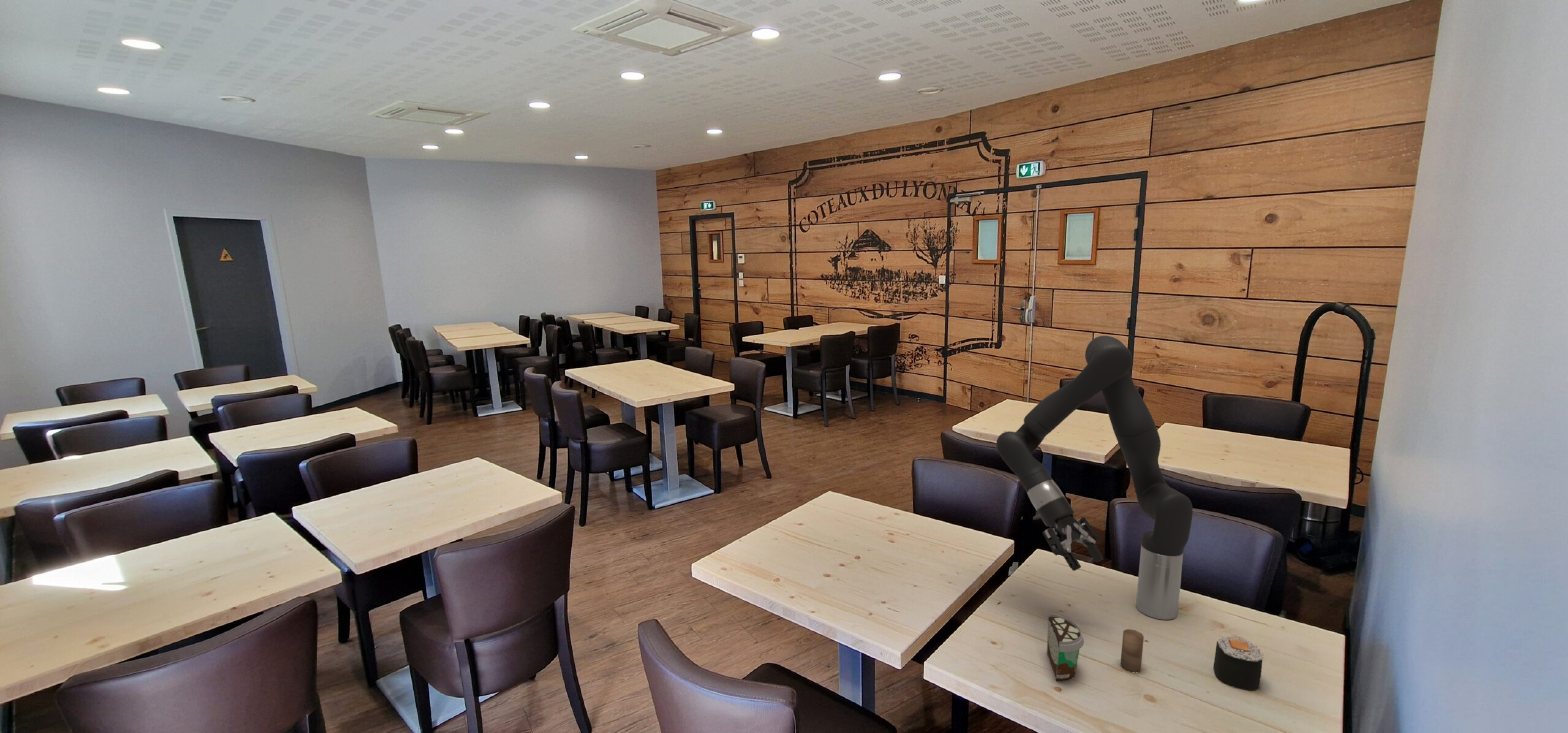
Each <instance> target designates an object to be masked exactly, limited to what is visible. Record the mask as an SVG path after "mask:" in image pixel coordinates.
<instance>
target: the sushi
mask: <svg viewBox="0 0 1568 733" xmlns="http://www.w3.org/2000/svg"><path fill="white" fill-rule="evenodd" d="M1264 657H1265V656H1264V653H1262V652H1261V648H1258V645H1256V644H1255V645H1254V644H1253V642H1252V641H1251V642H1250V640H1248V639H1245V638H1242V637H1238V638H1237V637H1236V636H1235V637H1232V636H1229V635H1228V636H1221V637H1220V639H1218V641H1217V640H1216V646H1215V653H1214V660H1213V672H1214V676H1215V678H1216V679H1217V680H1218V681H1220V682H1221V683H1222V684H1225V685H1226V686H1229V687H1233V688H1236V689H1241V690H1246V691H1256V690H1257V691H1258V689H1259V687H1260V682H1261V677H1262V670H1263V660H1264Z"/></svg>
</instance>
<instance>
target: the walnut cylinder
mask: <svg viewBox="0 0 1568 733" xmlns="http://www.w3.org/2000/svg"><path fill="white" fill-rule="evenodd" d="M1144 636H1145V635H1144V634H1143V633H1142V632H1140V631H1138V630H1135V629H1131V628H1129V629H1126V628H1125V629H1124V630H1123V632H1122V640H1121V642H1122V643H1121V653H1120V664H1121V665H1120V667H1121V668H1122V669H1123V670H1124V669H1125V671H1127V672H1128V671H1129V673H1132V672H1135V673H1134V674H1137V673H1136V672H1138V673H1140V672H1141V671H1142V670H1141V669H1142V662H1143V651H1144V638H1145V637H1144Z"/></svg>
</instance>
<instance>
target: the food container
mask: <svg viewBox="0 0 1568 733" xmlns="http://www.w3.org/2000/svg"><path fill="white" fill-rule="evenodd" d="M1046 642H1047V645H1046V655H1047V656H1046V657H1047V659H1048V662H1049V665H1050V668H1051V671H1053V672H1052V674H1053V677H1054V680H1055V682H1068V681H1070V680H1073V679H1072V678H1075V676H1076V673H1077V666H1078V659H1079V654H1080V649H1081V648H1082V647H1083V646H1084V644H1085V643H1084V642H1085V638H1084V633H1083V631H1082V630H1081V627H1080V626H1079V625H1078V624H1077V623H1076V622H1075V621H1073V620H1072V619H1070V618H1068V617H1066V616H1063V615H1060V614H1057V613H1051V612H1048V614H1047V641H1046Z"/></svg>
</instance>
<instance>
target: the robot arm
mask: <svg viewBox="0 0 1568 733" xmlns="http://www.w3.org/2000/svg"><path fill="white" fill-rule="evenodd" d="M1084 353H1085V355H1084V358H1085V362H1086V366H1085V367H1084V368H1083V369H1082V371H1081V372H1080V373H1079V374H1078V375H1076V377H1074V378H1073V379H1072V380H1071V381H1070V382H1068V383H1067V384H1066V385H1064V386H1062V387H1060V388H1058V389H1057V390H1055V391H1053V392H1052V393H1050V394H1048V395H1047V396H1045V397H1044V398H1043V399H1042V400H1040V402H1039V403H1037V404H1036V406H1034V407H1033V408H1032V409H1031V410H1030V411H1029V412H1028V413H1027V414H1026V415H1025V416H1024V418H1023V424H1021V425H1020V426H1019V428H1018V429H1017V430H1016V431H1011V430H1010V431H1004V432H1003V433H1001V434H999V436H998V437H997V440H996V450H997V452H998V454H999V455H1000V457H1001V458H1002V460H1003V462H1004V463H1005V464H1006V465H1007V467H1008V468H1009V469H1010V470H1011V471H1012V472H1013V473H1014V475H1016V477H1017V478H1018V481H1019V482H1020V484H1021V485H1022V487H1023V489H1024V490H1025V492H1026V494H1027V496H1028V498H1029V500H1030V502H1031V504H1032V505H1033V507H1034V509H1035V510H1036V512H1037V514H1038V515H1039V517H1040V519H1041V521H1042V522H1043V523H1044V525H1045V526H1046V527H1049V528H1046V529H1045V530H1044V531H1043V532H1042V535H1043V537H1044V538H1045V540H1046V542H1047V544H1048V546H1049V549H1051V552H1052V553H1053V555H1054V556H1061V557H1063V558H1064V560H1065V562H1066V563H1067V565H1068V567H1069V568H1070V569H1071V570H1072V571H1077V570H1079V569H1081V567H1082V565H1081V564H1080V563H1079V561H1078V559H1077V557H1076V556H1075V553H1073V552H1072V548H1071V547H1072V546H1071V545H1072V543H1073V542H1076V543H1079V544H1081V545H1083V546H1084V547H1086V550H1087V552H1088V553H1089V555H1090V556H1091V558H1092V560H1093V561H1094V563H1098V562H1101V561H1102V560H1104V557H1103V555H1102V552H1101V550H1100V549H1099V548H1098V546H1097V545H1096V543H1097V541H1098V540H1099V536H1098V535H1097V533H1096V532H1095V530H1094V528H1093V527H1092V525H1091V524H1090V523H1089V521H1088V520H1087V518H1086V517H1084V516H1083V517H1080V518H1079V519H1076V518H1075V517H1074V514H1075V511H1074V509H1073V507H1072V506H1071V504H1070V502H1069V501H1068V500H1067V498H1066V497H1065V495H1064V493H1063V492H1062V490H1061V489H1060V487H1059V486H1058V485H1057V483H1056V482H1055V481H1054V480H1053V478H1052V476H1051V475H1050V473H1049V472H1048V470H1047V468H1045V466H1044V465H1043V463H1041V462H1040V461H1038V459H1036V458H1035V457H1034V455H1033V453H1034V451H1036V450H1037V448H1038V447H1039V446H1040V444H1041V443H1043V441H1044V439H1045V438H1046V436H1047V435H1049V434H1050V433H1051V432H1053V431H1054V430H1055V429H1056V428H1057V427H1058V426H1059V425H1060V424H1062V422H1063V421H1064V420H1066V419H1067V418H1068V417H1069V416H1070V415H1072V413H1073V412H1075V411H1076V410H1077V409H1078V408H1080V407H1081V406H1082V405H1083V404H1085V403H1086V402H1088V400H1091V399H1092V398H1093V397H1095V396H1096V395H1098V393H1100V392H1102V395H1103V400H1104V403H1105V407H1106V411H1107V414H1108V417H1109V420H1110V425H1111V428H1112V429H1113V433H1114V436H1115V438H1116V441H1117V443H1118V447H1119V449H1120V450H1121V452H1122V456H1123V458H1124V462H1125V463H1126V465H1127V468H1128V470H1129V474H1130V476H1131V480H1132V482H1133V487H1134V492H1135V495H1136V500H1137V502H1138V505H1139V508H1140V510H1141V511H1142V512H1143V513H1144V514H1145V515H1146V516H1147V517H1149V518H1150V519H1152V520H1153V521H1154V524H1153V526H1154V527H1153V530H1149V531H1146V532H1144V533H1143V534H1142V537H1141V543H1140V544H1141V546H1140V555H1139V557H1140V558H1139V568H1138V578H1137V590H1136V599H1135V600H1136V602H1135V607H1136V608H1137V610H1138V611H1139V612H1140V613H1142V614H1144V615H1145V616H1148V617H1150V618H1153V619H1156V620H1157V619H1158V620H1165V621H1166V620H1167V621H1168V620H1174V619H1176V618H1177V616H1178V611H1179V603H1180V602H1179V601H1180V593H1181V584H1182V571H1183V570H1182V569H1183V558H1184V550H1185V547H1186V545H1187V544H1188V542H1189V538H1190V533H1191V527H1192V520H1193V513H1194V512H1193V509H1194V508H1193V504H1192V501H1191V499H1190V498H1189V497H1188V496H1186V495H1185V494H1183V493H1181V492H1179V491H1177V490H1176V489H1174V488H1173V487H1171V486H1169V484H1168V483H1167V482H1166V480H1165V478H1164V476H1163V473H1162V471H1161V468H1160V464H1159V456H1160V452H1161V447H1162V445H1161V437H1160V434H1159V431H1158V428H1157V426H1156V423H1155V420H1154V418H1153V416H1152V414H1151V412H1150V410H1149V408H1148V406H1147V404H1146V402H1145V401H1144V399H1143V398H1142V396H1141V394H1140V393H1139V390H1138V389H1137V388H1136V385H1135V384H1134V381H1133V379H1132V376H1131V372H1130V370H1131V369H1132V366H1133V361H1134V360H1133V359H1134V358H1133V355H1132V352H1131V351H1130V349H1129V348H1128V347H1127V346H1126V345H1125V344H1124V343H1123V342H1122V340H1121V341H1120V339H1118V338H1116V337H1113V336H1110V335H1099V336H1096V337H1094V338H1093V339H1091V341H1090V342H1089V343H1088V344H1087V346H1086V349H1085V352H1084ZM1090 535H1091V536H1090Z"/></svg>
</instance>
